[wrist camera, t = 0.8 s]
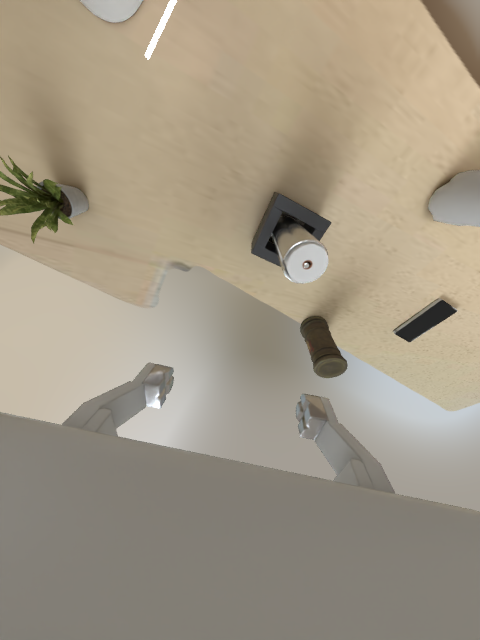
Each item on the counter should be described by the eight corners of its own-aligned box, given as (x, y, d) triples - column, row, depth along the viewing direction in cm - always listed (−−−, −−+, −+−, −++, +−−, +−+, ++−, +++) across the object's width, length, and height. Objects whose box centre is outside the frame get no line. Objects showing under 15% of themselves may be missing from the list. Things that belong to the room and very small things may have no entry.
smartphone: (458, 311, 55) (410, 342, 63) (455, 308, 56) (407, 340, 64) (441, 299, 53) (394, 333, 61) (438, 297, 54) (391, 331, 62)
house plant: (56, 135, 38) (-48, 109, 25) (118, 197, 44) (59, 202, 31) (36, 189, 44) (-57, 191, 31) (92, 237, 50) (34, 256, 37)
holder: (274, 191, 41) (278, 193, 34) (318, 216, 44) (331, 222, 36) (251, 242, 48) (251, 253, 41) (291, 261, 50) (297, 274, 43)
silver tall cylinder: (278, 210, 43) (300, 232, 23) (302, 222, 45) (341, 253, 25) (265, 237, 47) (274, 276, 27) (287, 248, 48) (311, 293, 28)
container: (314, 311, 59) (334, 352, 45) (332, 325, 62) (356, 367, 48) (294, 328, 64) (305, 369, 49) (311, 340, 67) (327, 383, 52)
